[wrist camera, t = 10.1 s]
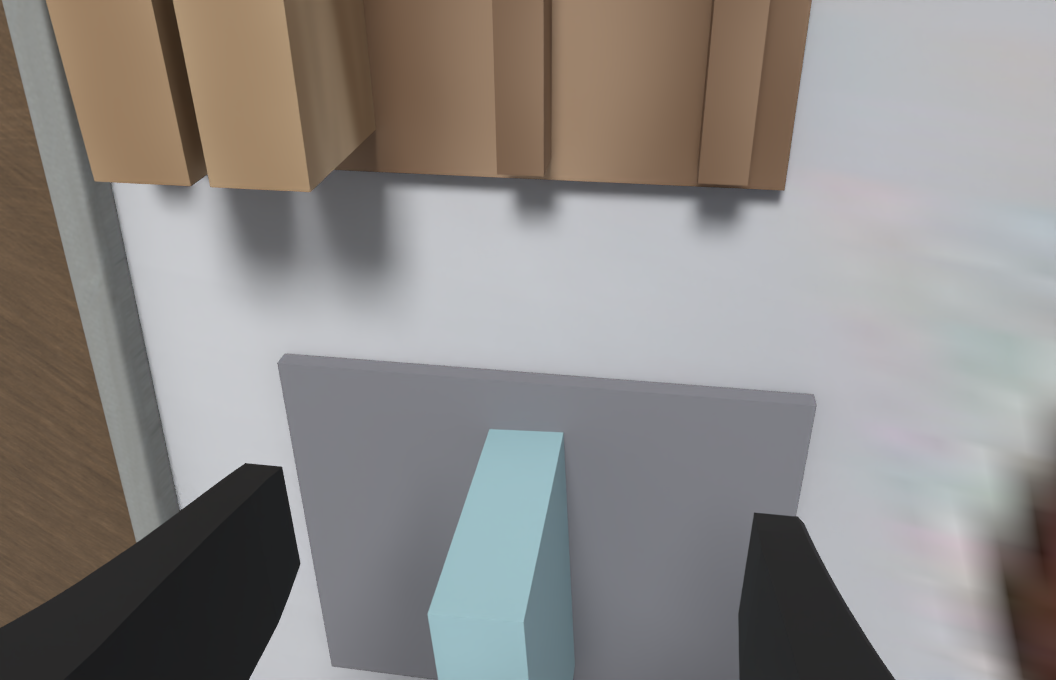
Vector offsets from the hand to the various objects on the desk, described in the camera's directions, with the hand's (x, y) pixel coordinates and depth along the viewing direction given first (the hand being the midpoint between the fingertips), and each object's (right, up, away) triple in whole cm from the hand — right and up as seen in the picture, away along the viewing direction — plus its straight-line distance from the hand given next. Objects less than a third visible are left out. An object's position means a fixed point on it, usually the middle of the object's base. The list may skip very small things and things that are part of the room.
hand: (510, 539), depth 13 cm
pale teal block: (0, -3, +12) cm, 13 cm away
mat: (+1, -3, +13) cm, 13 cm away
